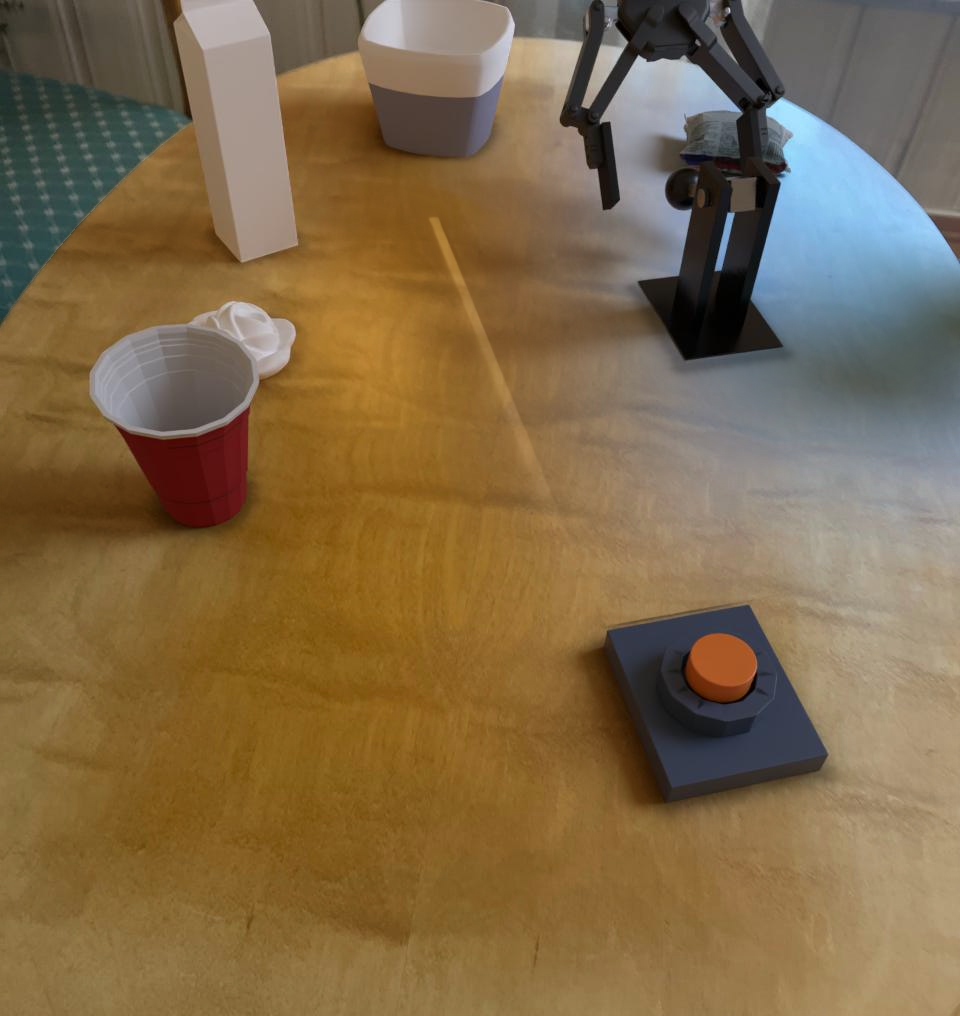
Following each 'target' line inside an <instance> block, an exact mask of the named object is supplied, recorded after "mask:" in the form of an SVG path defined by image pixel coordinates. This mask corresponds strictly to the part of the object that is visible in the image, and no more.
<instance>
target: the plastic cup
mask: <svg viewBox="0 0 960 1016" xmlns="http://www.w3.org/2000/svg"><path fill="white" fill-rule="evenodd" d="M259 384H260V380H259V375H258V368H257V361H256V359H255V358H254V356H253V355H252V354H251V353H250V352H249V350H248V349H247V348H246V347H245V345H244V344H243V343H242V342H241V341H239V340H237V339H235V338H233V337H231V336H229V335H228V334H226V333H224V332H222V331H220V330H218V329H214V328H208V327H203V326H197V325H192V324H188V323H179V324H178V323H177V324H164V325H163V324H162V325H154V326H151V327H148V328H145V329H142V330H139V331H136V332H133V333H130V334H127V335H125V336H124V337H123V336H122V338H120V339H119V340H117V341H116V342H114V343H113V344H112V345H110V346H109V347H108V348H106V349H105V350H104V351H102V352H101V354H100V356H99V357H98V358H97V360H96V362H95V364H94V366H93V367H92V368H91V370H90V372H89V397H90V398H91V400H92V401H93V402H94V403H93V404H95V406H96V407H97V408H98V410H99V412H100V413H101V414H102V417H104V419H105V420H106V421H108V422H109V423H111V424H113V426H114V427H115V429H116V430H117V431H118V433H119V434H120V436H121V437H122V439H123V440H124V442H125V444H126V446H127V447H128V449H129V450H130V452H131V454H132V457H134V460H135V461H136V463H137V464H138V467H139V468H140V470H141V472H142V473H143V475H144V477H145V479H146V480H147V482H148V484H149V485H150V487H151V488H152V489H153V491H154V492H155V494H156V495H157V497H158V499H159V501H160V502H161V505H162V506H163V509H164V510H165V511H166V512H167V514H168V515H169V516H170V518H172V519H173V520H174V521H176V522H178V523H179V524H182V525H183V526H186V527H192V528H200V529H203V528H208V527H209V528H210V527H216V526H218V525H221V524H223V523H226V522H227V521H230V520H232V519H233V518H234V517H235V516H236V515H237V514H238V513H240V512H241V510H242V509H243V506H244V504H245V502H246V499H247V497H248V491H247V490H248V489H247V488H248V487H247V485H248V484H247V483H248V482H247V472H248V471H249V417H250V414H251V404H252V401H253V398H254V396H255V394H256V392H257V389H258V387H259Z"/></svg>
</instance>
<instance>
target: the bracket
mask: <svg viewBox="0 0 960 1016" xmlns="http://www.w3.org/2000/svg"><path fill="white" fill-rule="evenodd" d="M743 176H746V177H756V178H757V182H756V206H755V210H752V211H744V212H735V213H733V219H732V222H731V227H730V230H729V236H728V240H727V243H726V248H725V253H724V257H723V262H722V266H721V270H716V268H717V267H716V266H717V263H718V257H719V253H720V249H721V245H722V240H723V235H724V231H725V227H726V223H727V222H726V221H727V217H728V214H729V213H728V209H729V205H730V200H731V196H732V192H733V188H732V186H731V185H730V184H729V182H728V181H727V180H726V179H725V178H726V177H725V176H724V174H723V172H720V171H719V169H718V168H717V167H716V166H715V164H714V163H713V162H712V161H708V162H701V164H700V170H699V175H698V180H697V185H696V190H695V195H694V200H693V205H692V209H691V211H690V217H689V221H688V227H687V232H686V236H685V242H684V246H683V253H682V257H681V263H680V268H679V273H678V275H674V276H665V277H657V278H649V279H640V280H638V284H639V286H640V288H641V289H642V291H643V292H644V294H645V296H646V297H647V299H648V301H649V302H650V304H651V306H652V307H653V309H654V312H655V313H656V314H657V316H658V318H659V320H660V321H661V323H662V325H663V326H664V329H665V330H666V331H667V333H668V335H669V337H670V338H671V341H673V344H674V345H675V346H676V348H677V349H678V352H679V353H680V355H681V357H682V358H683V360H684V361H694V360H700V359H709V358H714V357H716V358H717V357H723V356H729V355H735V354H744V353H750V352H758V351H765V350H772V349H773V350H774V349H779V348H784V345H783V344H782V342H781V341H780V339H779V338H778V336H777V335H776V333H775V332H774V330H773V329H772V327H771V326H770V324H769V323H768V321H766V319H765V318H764V316H763V315H762V313H761V312H760V311H759V309H758V308H757V306H756V305H755V303H754V302H753V300H752V295H753V291H754V287H755V284H756V280H757V277H758V273H759V268H760V265H761V261H762V257H763V254H764V250H765V246H766V243H767V239H768V235H769V230H770V227H771V223H772V220H773V216H774V212H775V208H776V204H777V200H778V196H779V193H780V189H781V185H782V182H781V181H780V180H779V179H778V177H777V175H774V174H773V173H772V172H771V170H770V169H769V168H768V167H767V166H766V164H765V163H764V162H763V161H762V160H761V158H760V157H759V156H755V157H748V158H747V162H746V166H745V170H744V175H743Z"/></svg>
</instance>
